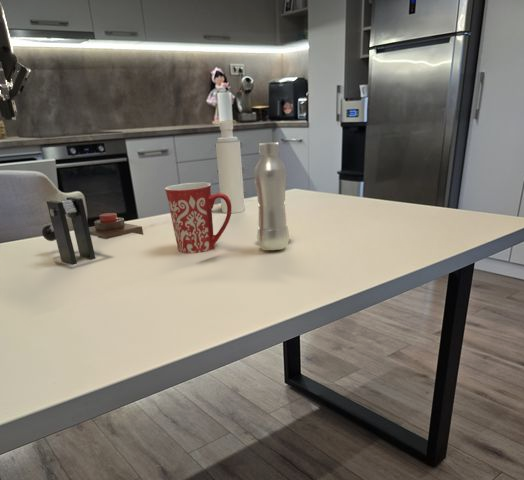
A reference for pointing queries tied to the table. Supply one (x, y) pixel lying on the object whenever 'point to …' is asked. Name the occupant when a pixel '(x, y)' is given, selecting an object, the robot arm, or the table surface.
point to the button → (108, 217)
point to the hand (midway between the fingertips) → (10, 120)
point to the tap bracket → (64, 235)
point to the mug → (194, 216)
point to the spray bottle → (230, 168)
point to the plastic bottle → (271, 198)
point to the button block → (113, 229)
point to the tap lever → (69, 212)
